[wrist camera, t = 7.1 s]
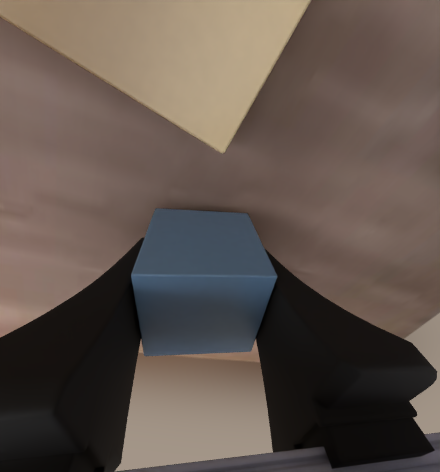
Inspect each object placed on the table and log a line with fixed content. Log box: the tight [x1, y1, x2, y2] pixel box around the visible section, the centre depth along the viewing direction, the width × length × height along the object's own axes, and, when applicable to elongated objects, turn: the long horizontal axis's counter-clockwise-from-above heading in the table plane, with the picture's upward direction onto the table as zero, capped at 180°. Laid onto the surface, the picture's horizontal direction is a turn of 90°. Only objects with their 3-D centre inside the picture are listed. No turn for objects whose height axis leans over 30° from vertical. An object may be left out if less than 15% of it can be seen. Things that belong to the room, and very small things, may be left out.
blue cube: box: [131, 208, 277, 356], centre depth 9 cm, size 4×4×4 cm
